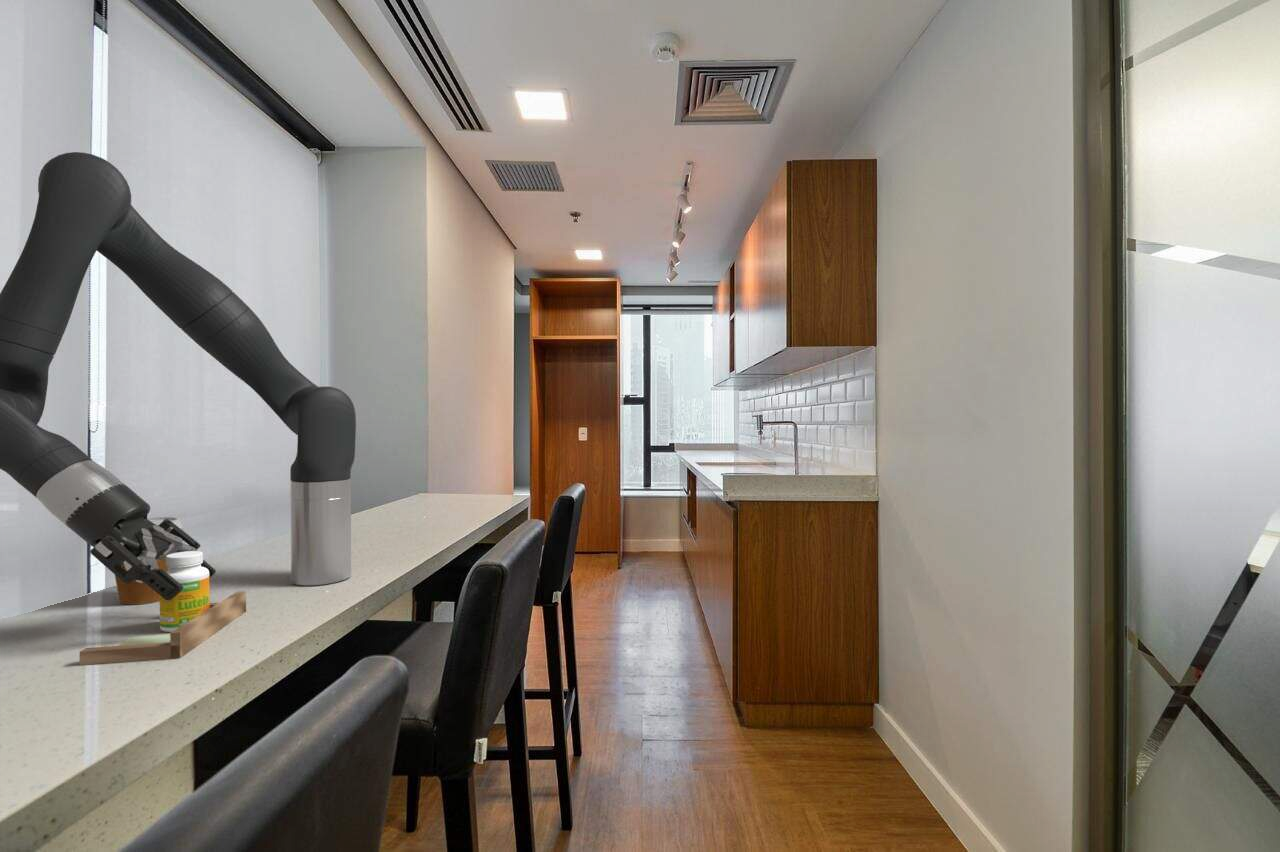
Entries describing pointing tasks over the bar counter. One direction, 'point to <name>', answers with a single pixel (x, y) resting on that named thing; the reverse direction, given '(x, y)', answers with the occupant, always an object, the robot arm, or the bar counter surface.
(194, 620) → the bay
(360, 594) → the bar counter surface
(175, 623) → the supplement bottle
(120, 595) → the disposable coffee cup
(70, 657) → the bar counter surface
